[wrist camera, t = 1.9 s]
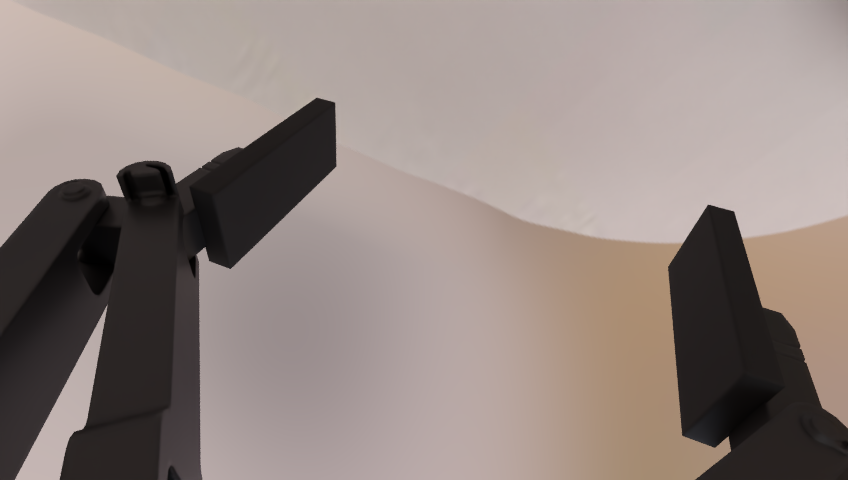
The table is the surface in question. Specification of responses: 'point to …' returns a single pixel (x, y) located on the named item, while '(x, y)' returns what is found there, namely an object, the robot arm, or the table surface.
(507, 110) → the table surface
